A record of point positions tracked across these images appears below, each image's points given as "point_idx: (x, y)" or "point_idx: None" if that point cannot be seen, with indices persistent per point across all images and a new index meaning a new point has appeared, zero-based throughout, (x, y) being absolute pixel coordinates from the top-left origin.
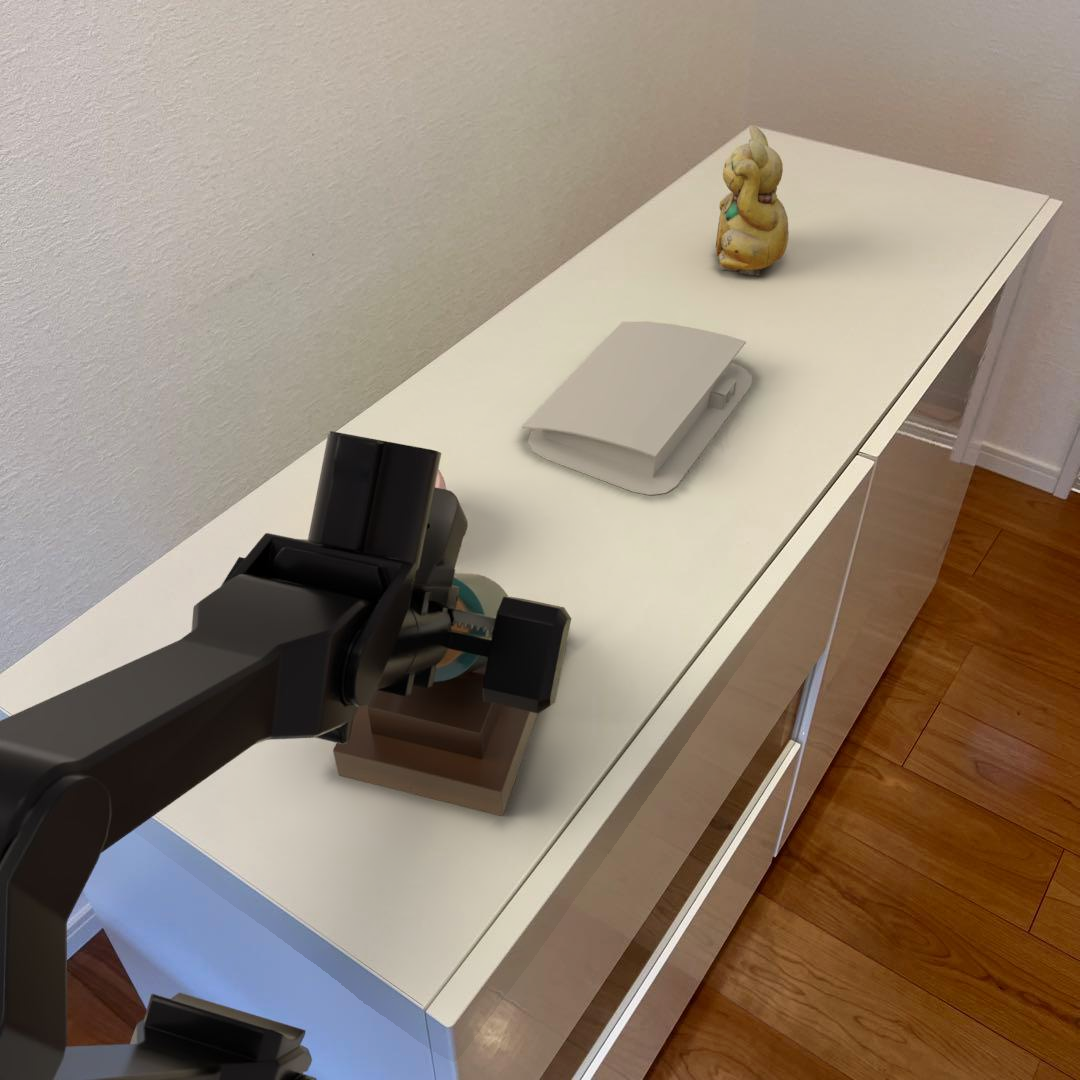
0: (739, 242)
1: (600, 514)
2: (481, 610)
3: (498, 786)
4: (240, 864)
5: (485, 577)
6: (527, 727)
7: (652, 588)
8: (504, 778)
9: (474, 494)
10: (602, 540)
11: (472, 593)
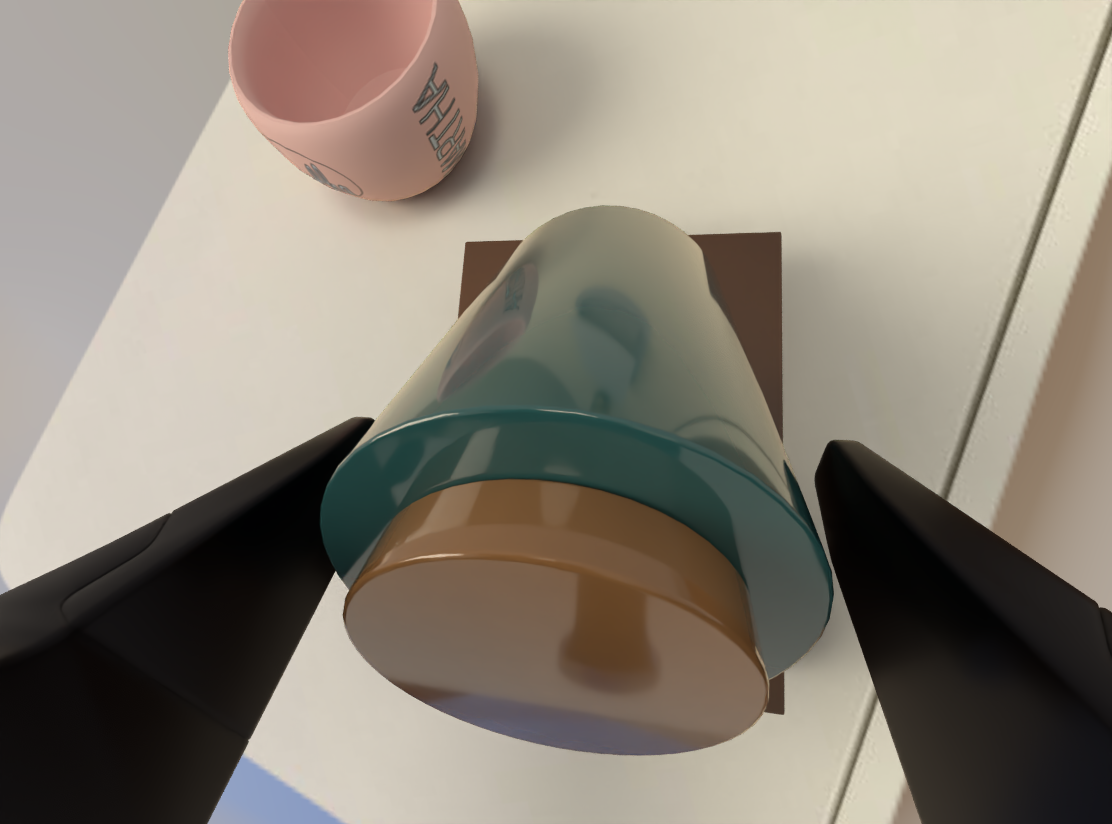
0: None
1: None
2: (813, 555)
3: (773, 701)
4: (361, 821)
5: (631, 212)
6: None
7: (896, 101)
8: (780, 679)
9: (513, 12)
10: (765, 27)
11: (750, 485)
